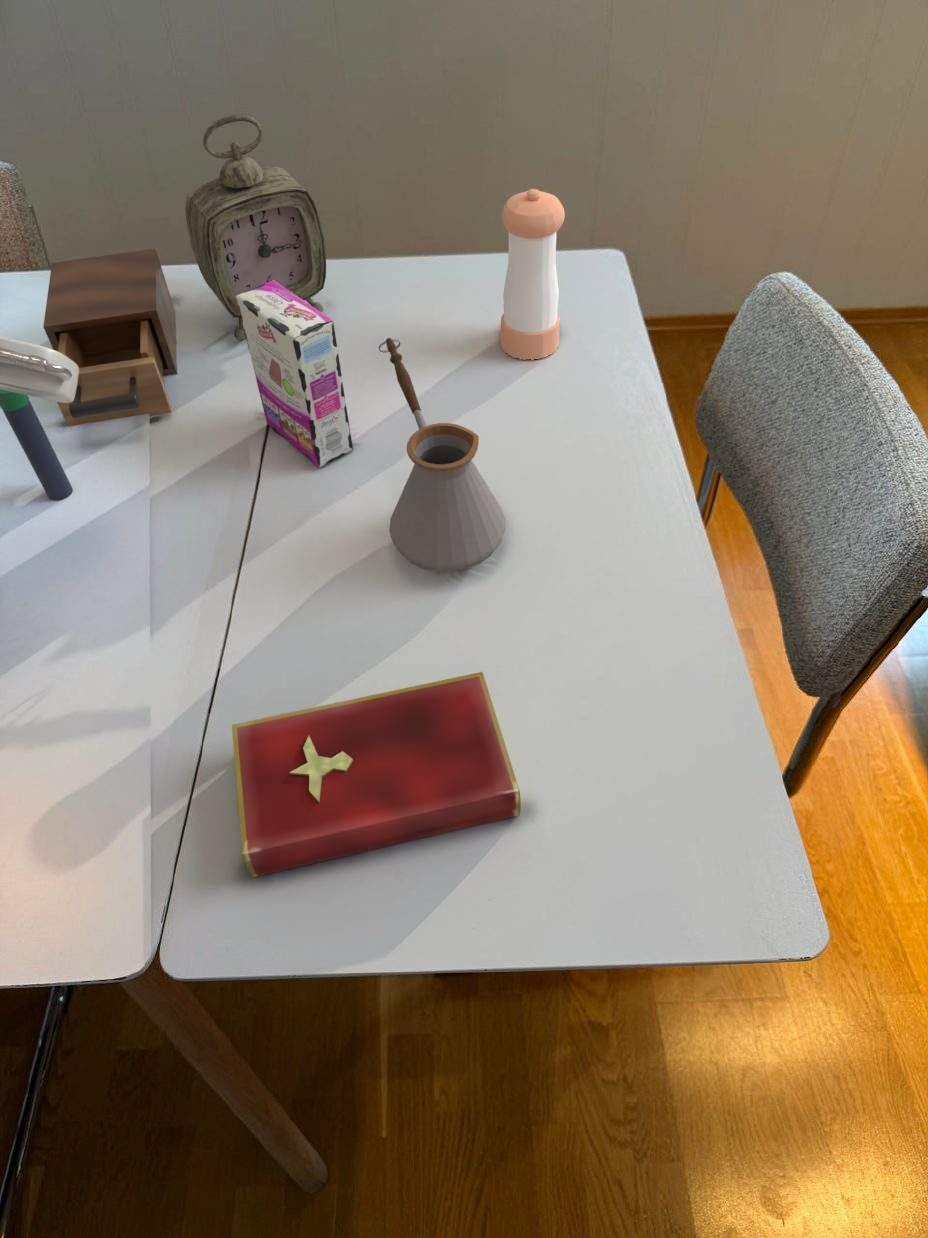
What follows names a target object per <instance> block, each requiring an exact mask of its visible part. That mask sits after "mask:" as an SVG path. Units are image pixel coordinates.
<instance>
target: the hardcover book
mask: <svg viewBox="0 0 928 1238" xmlns="http://www.w3.org/2000/svg"><path fill="white" fill-rule="evenodd" d="M499 723H500V722H499V719H498V717H497V714H496V711H495V707H494V704H493V702H492V698H491V695H490V691H489V688H488V685H487V682H486V679H485V675H484V672H483V671H480V672H475V673H471V674H464V675H461V676H456V677H451V678H447V679H442V680H436V681H433V682H428V683H423V684H418V685H414V686H413V685H412V686H409V687H404V688H400V689H399V688H398V689H395V690H390V691H385V692H380V693H376V694H371V695H366V696H362V697H357V698H352V699H346V700H341V701H338V702H333V703H328V704H323V705H318V706H314V707H309V708H305V709H300V710H296V711H290V712H286V713H281V714H276V715H271V716H267V717H263V718H257V719H253V720H252V719H251V720H248V721H243V722H239V723H235V724H231V733H232V745H233V756H234V767H235V779H236V780H235V781H236V782H235V783H236V791H237V792H236V793H237V803H238V817H239V828H240V829H239V830H240V840H241V842H240V843H241V853H242V854H241V855H242V858H243V861H244V863H245V866H246V868H247V870H248V872H249V874H250V875H251V877H252V878H256V877H261V876H265V875H270V874H274V873H277V872H282V871H286V870H291V869H295V868H300V867H303V866H308V865H311V864H312V865H313V864H316V863H320V862H324V861H328V860H333V859H338V858H342V857H346V856H350V855H354V854H355V855H356V854H359V853H364V852H369V851H372V850H377V849H381V848H385V847H389V846H394V845H398V844H401V843H407V842H410V841H415V840H419V839H420V840H421V839H424V838H428V837H432V836H436V835H441V834H446V833H449V832H454V831H458V830H462V829H465V828H471V827H475V826H479V825H484V824H488V823H492V822H496V821H500V820H506V819H509V818H514V817H518V816H520V815H521V804H522V803H521V802H522V801H521V792H520V787H519V784H518V781H517V778H516V775H515V773H514V772H515V771H514V768H513V765H512V762H511V760H510V755H509V752H508V750H507V749H508V748H507V746H506V743H505V740H504V736H503V734H502V730H501V727H500V724H499Z"/></svg>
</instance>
